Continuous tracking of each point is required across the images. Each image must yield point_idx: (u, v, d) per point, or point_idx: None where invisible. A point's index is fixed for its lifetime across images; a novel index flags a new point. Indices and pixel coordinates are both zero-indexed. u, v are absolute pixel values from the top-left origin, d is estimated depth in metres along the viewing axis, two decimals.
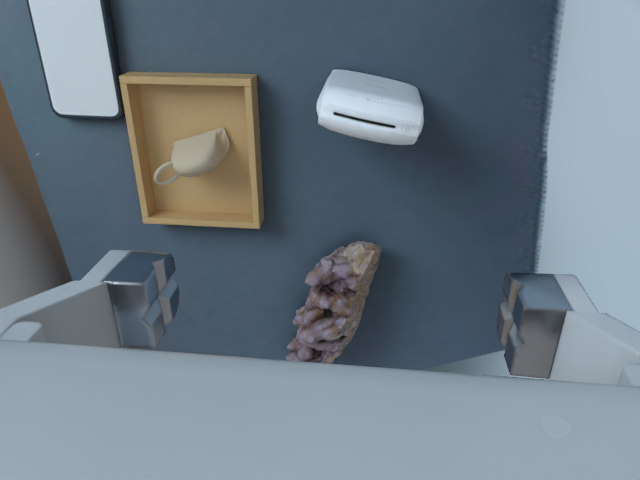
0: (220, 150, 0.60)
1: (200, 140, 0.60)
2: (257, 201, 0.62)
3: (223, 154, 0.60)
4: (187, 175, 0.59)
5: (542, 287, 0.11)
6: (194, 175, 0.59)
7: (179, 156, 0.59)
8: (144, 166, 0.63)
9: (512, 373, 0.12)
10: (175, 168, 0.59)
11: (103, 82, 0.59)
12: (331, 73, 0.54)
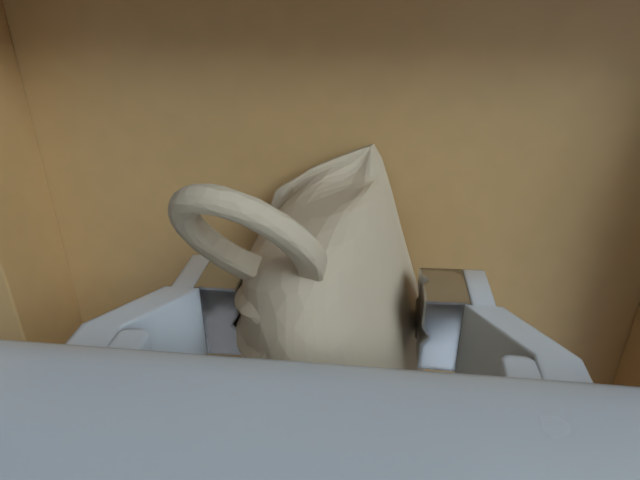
0: None
1: (412, 341, 0.13)
2: None
3: None
4: None
5: (447, 282, 0.12)
6: None
7: (354, 311, 0.10)
8: None
9: (419, 367, 0.12)
10: (291, 307, 0.10)
11: None
12: None
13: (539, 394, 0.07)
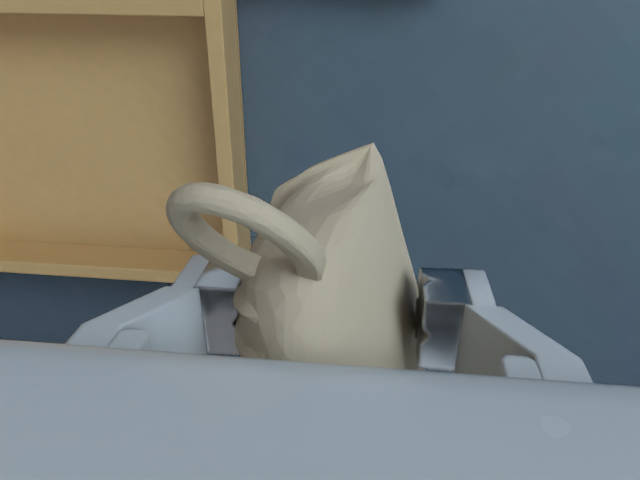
0: None
1: (411, 342, 0.13)
2: (1, 271, 0.31)
3: None
4: None
5: (447, 282, 0.12)
6: None
7: (353, 311, 0.10)
8: None
9: (419, 367, 0.12)
10: (289, 306, 0.10)
11: None
12: None
13: (539, 394, 0.07)
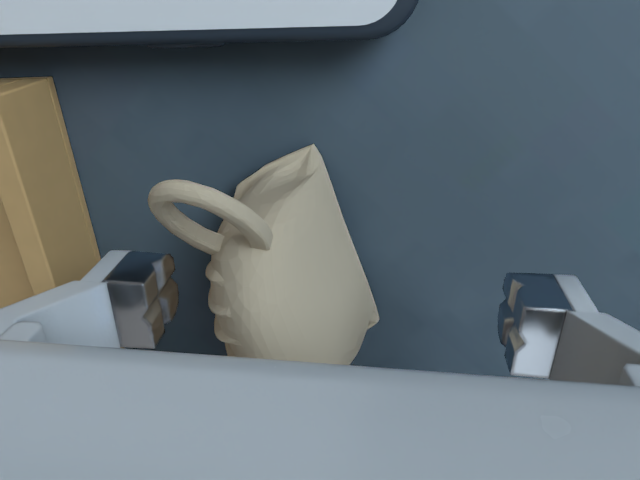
0: None
1: (352, 300, 0.16)
2: None
3: None
4: (221, 318, 0.13)
5: (542, 287, 0.11)
6: None
7: (297, 273, 0.13)
8: None
9: (512, 373, 0.12)
10: (246, 270, 0.13)
11: None
12: None
13: (539, 394, 0.07)
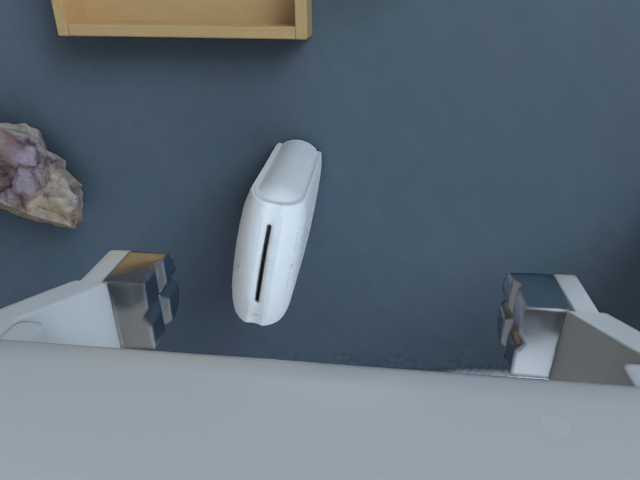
0: None
1: None
2: (107, 35, 0.37)
3: None
4: None
5: (542, 287, 0.11)
6: None
7: None
8: None
9: (512, 373, 0.12)
10: None
11: None
12: (318, 165, 0.39)
13: (539, 394, 0.07)
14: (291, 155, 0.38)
